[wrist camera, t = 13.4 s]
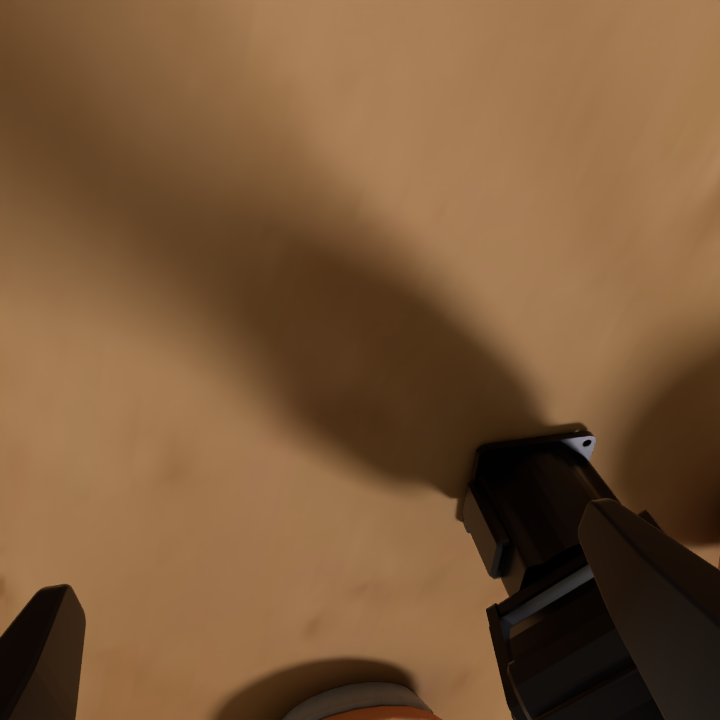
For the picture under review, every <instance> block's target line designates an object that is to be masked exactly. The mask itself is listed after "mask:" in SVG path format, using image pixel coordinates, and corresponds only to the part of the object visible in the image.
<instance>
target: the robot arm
mask: <svg viewBox="0 0 720 720" xmlns="http://www.w3.org/2000/svg"><path fill="white" fill-rule="evenodd" d="M595 442H596V439H595V437H594V436H593V435H592V433H591V432H589V431H582V432H574V433H567V434H559V435H552V436H545V437H537V438H530V439H522V440H515V441H507V442H500V443H493V444H486V445H482V446H481V447H479V448H478V449H477V451H476V454H475V460H474V466H473V472H472V478H471V480H470V482H469V483H468V485H467V490H466V496H465V502H464V508H463V517H464V527H465V529H466V531H467V532H468V533H471V535H472V538H473V540H474V542H475V545H476V547H477V549H478V551H479V554H480V556H481V558H482V560H483V563H484V565H485V567H486V570H487V572H488V574H489V576H491V577H492V578H493V579H499V578H501V580H502V582H503V584H504V587H505V589H506V591H507V593H508V595H509V598H507V599H505V600H504V601H502V602H500V603H499V604H496V603H495V604H493V605H492V606H490V607H489V608H487V609H486V612H487V617H488V621H489V625H490V626H489V630H490V634H491V638H492V642H493V646H494V651H495V655H496V659H497V663H498V667H499V672H500V676H501V680H502V684H503V689H504V693H505V697H506V701H507V705H508V707H509V709H510V711H511V715H512V719H513V720H720V570H719V569H717V568H716V567H714V566H713V565H711V564H710V563H708V562H707V561H705V560H704V559H702V558H701V557H699V556H698V555H696V554H695V553H693V552H692V551H690V550H689V549H687V548H686V547H684V546H683V545H681V544H680V543H678V542H677V541H675V540H674V539H672V538H671V537H669V536H668V535H667V534H666V533H665V532H664V530H663V529H662V528H661V527H660V526H659V524H658V523H657V522H656V521H655V520H654V519H653V517H652V516H651V515H650V514H649V513H648V512H647V510H644V511H642V512H641V513H639V514H638V515H636V514H635V513H633V512H632V511H630V510H629V509H627V508H626V507H624V506H623V505H622V504H621V503H620V501H619V500H618V499H617V497H616V496H615V495H614V494H613V492H612V491H611V490H610V488H609V487H608V486H607V484H606V483H605V482H604V480H603V479H602V478H601V476H600V475H599V474H598V473H597V471H596V470H595V469H594V467H593V466H592V465H591V463H590V462H589V460H590V457H591V454H592V451H593V448H594V445H595ZM85 626H86V619H85V613H84V610H83V608H82V606H81V604H80V602H79V600H78V598H77V596H76V594H75V592H74V590H73V589H72V587H71V586H70V585H68V584H61V585H55V586H48V587H44V588H42V589H40V590H39V591H38V592H37V593H36V594H35V595H34V596H33V597H32V598H31V600H30V601H29V602H28V603H27V605H26V606H25V607H24V608H23V610H22V611H21V612H20V613H19V615H18V616H17V617H16V618H15V620H14V621H13V622H12V623H11V624H10V626H9V627H8V628H7V629H6V631H5V632H4V633H3V634H2V636H1V637H0V720H75V717H76V709H77V700H78V691H79V682H80V673H81V664H82V654H83V645H84V636H85Z"/></svg>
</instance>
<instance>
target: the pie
mask: <svg viewBox="0 0 720 720" xmlns="http://www.w3.org/2000/svg"><path fill="white" fill-rule="evenodd" d="M282 720H442V719H440V718H439V717H437V716H436V715H434V714H433V712H432V710H431V709H430V708H429V707H428V706H427V705H426V704H425V703H424V702H423V701H422V700H421V699H420V698H419V697H418V696H417V695H416V694H415V693H414V692H412V691H411V690H409V689H408V688H406V687H405V686H401V685H398V684H394V683H390V682H365V683H357V684H349V685H346V686H342V687H338V688H334V689H330V690H327V691H325V692H323V693H320V694H318V695H315V696H313V697H311V698H308V699H307V700H305V701H304V702H302V703H300V704H299V705H297V706H296V707H294V708H293V709H292V710H291V711H290V712H289V713H288V714H287V715H286V716H285V717H284V718H283V719H282Z"/></svg>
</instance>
